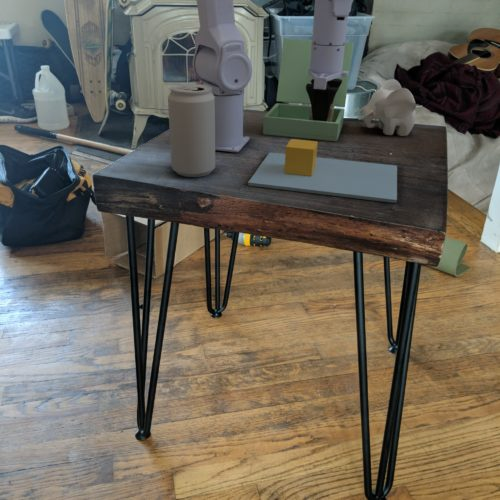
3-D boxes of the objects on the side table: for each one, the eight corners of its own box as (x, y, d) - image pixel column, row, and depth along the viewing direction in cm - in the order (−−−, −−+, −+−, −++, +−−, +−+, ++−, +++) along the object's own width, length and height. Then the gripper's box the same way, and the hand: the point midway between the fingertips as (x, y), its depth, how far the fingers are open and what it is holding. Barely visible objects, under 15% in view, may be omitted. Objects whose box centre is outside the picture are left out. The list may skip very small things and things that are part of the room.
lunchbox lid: (353, 42, 97) (353, 46, 100) (283, 38, 100) (286, 42, 103) (344, 106, 98) (345, 109, 101) (276, 100, 101) (278, 103, 104)
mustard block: (284, 173, 74) (285, 146, 72) (289, 164, 78) (290, 138, 76) (311, 176, 73) (314, 149, 72) (315, 167, 77) (317, 141, 75)
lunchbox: (336, 141, 91) (338, 123, 89) (262, 134, 93) (263, 116, 92) (342, 125, 100) (344, 108, 99) (275, 119, 103) (276, 103, 102)
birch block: (308, 129, 95) (310, 107, 93) (311, 123, 98) (313, 102, 96) (329, 131, 94) (332, 109, 92) (332, 125, 97) (334, 104, 95)
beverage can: (208, 180, 72) (207, 93, 66) (165, 176, 73) (160, 90, 68) (220, 166, 78) (220, 84, 72) (179, 162, 79) (176, 81, 73)
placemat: (247, 185, 71) (247, 182, 71) (269, 155, 83) (269, 152, 83) (396, 203, 67) (397, 199, 67) (396, 168, 79) (397, 165, 79)
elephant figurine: (350, 124, 102) (356, 77, 97) (411, 125, 101) (419, 79, 97) (358, 137, 93) (364, 87, 89) (424, 139, 93) (434, 89, 89)
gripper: (348, 50, 82) (338, 134, 89) (354, 40, 94) (346, 114, 101) (304, 47, 83) (298, 130, 90) (316, 38, 96) (310, 111, 102)
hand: (320, 122), depth 96 cm, fingers closed on birch block, 4 cm apart
